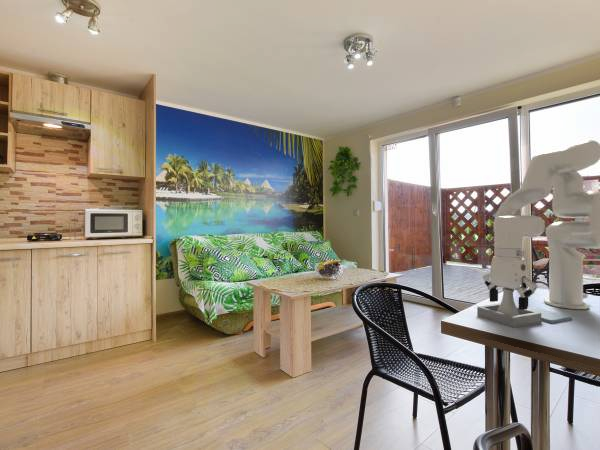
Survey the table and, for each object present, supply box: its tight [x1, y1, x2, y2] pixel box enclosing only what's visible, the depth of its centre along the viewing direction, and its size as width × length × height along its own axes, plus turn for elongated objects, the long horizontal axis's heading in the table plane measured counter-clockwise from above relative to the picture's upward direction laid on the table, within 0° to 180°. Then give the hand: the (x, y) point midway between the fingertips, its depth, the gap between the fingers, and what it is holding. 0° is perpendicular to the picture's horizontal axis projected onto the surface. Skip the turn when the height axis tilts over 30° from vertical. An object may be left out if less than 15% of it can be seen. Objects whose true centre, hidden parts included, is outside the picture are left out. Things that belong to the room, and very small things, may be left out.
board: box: [529, 307, 573, 324], centre depth 99 cm, size 10×10×1 cm
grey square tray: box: [476, 302, 542, 328], centre depth 98 cm, size 12×12×3 cm
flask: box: [497, 287, 519, 316], centre depth 98 cm, size 7×7×10 cm
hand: (507, 305), depth 98 cm, fingers open, 9 cm apart
